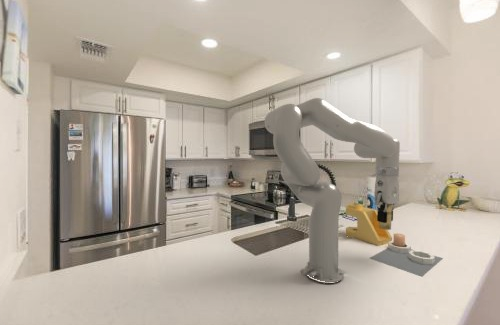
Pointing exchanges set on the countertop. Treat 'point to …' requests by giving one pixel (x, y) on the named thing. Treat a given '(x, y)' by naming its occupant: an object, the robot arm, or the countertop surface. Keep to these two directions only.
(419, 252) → the white octagonal ring
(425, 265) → the mat
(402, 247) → the joined fitting
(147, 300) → the countertop surface
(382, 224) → the gold rounded cylinder
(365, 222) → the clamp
